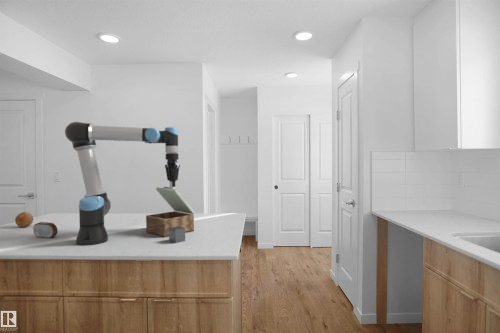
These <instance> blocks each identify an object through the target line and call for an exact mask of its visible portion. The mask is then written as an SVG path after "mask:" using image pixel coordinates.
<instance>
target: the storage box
mask: <svg viewBox="0 0 500 333" xmlns="http://www.w3.org/2000/svg"><path fill="white" fill-rule="evenodd" d="M194 216H195V214H190V213H184V212H179V211H174V210H173V211H170V212H168V211H167V212H162V213H161V212H160V213H154V214H148V215H145V222H146V224H145V225H146V228H145V229H146V232H145V233H148V234H152V235H155V236H158V237H162V238H169V228H173V227H178V226H179V227H183V228H185V234H188V233H192V232H195V217H194Z"/></svg>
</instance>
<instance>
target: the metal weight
mask: <svg viewBox="0 0 500 333" xmlns="http://www.w3.org/2000/svg"><path fill="white" fill-rule="evenodd" d="M168 242H170V243H172V244H179V243H183V242H186V233H185V228H183V227H179V226H178V227H173V228H169V237H168Z"/></svg>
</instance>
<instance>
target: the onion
mask: <svg viewBox="0 0 500 333" xmlns="http://www.w3.org/2000/svg"><path fill="white" fill-rule="evenodd" d="M14 220H15V221H14V222H15V223H14V224H15V225H16V226H18V227H20V228H27V227H30V225H32V223H33V222H34V217H33V215H32V214H31V213H30V212H28V211H22V212H20V213H19V214H17V215H16V216H15V219H14Z"/></svg>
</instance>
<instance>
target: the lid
mask: <svg viewBox="0 0 500 333" xmlns="http://www.w3.org/2000/svg"><path fill="white" fill-rule="evenodd" d="M155 190H156V191H157V192H158V193H159V195H160V196H161V197H162V198H163V199H164V200H165V201H166V202H167V205H169V206H170V207H171V209H172V210H173V211H176V212H182V213H187V214H193V215H195V214H196V211H195V210H194V209H193V207H192V206H191V204H189V203H188V202H187V200H186V199H185V198H184V197H183V195H182V194H181V193H180V192H179V191H178V190H177V188H175V189H173V188H172V187H170V186H164V187H158V186H157V187H156V188H155Z"/></svg>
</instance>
